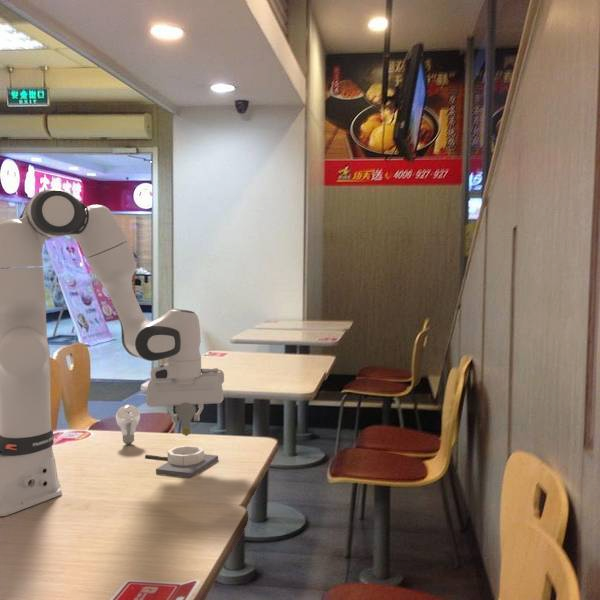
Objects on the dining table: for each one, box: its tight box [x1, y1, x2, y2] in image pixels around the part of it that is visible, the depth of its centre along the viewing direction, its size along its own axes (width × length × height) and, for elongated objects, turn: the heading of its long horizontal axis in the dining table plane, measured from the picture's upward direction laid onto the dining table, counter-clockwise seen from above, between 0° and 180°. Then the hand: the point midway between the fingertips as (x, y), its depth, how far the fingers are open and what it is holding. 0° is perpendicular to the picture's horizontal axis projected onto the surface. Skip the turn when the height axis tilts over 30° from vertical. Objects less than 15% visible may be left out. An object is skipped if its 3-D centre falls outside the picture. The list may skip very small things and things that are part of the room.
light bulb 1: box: [115, 404, 141, 446], centre depth 184 cm, size 7×7×12 cm
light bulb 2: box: [174, 403, 197, 437], centre depth 166 cm, size 5×6×10 cm
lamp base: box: [144, 445, 219, 479], centre depth 166 cm, size 15×20×4 cm
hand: (185, 421), depth 166 cm, fingers closed on light bulb 2, 4 cm apart
